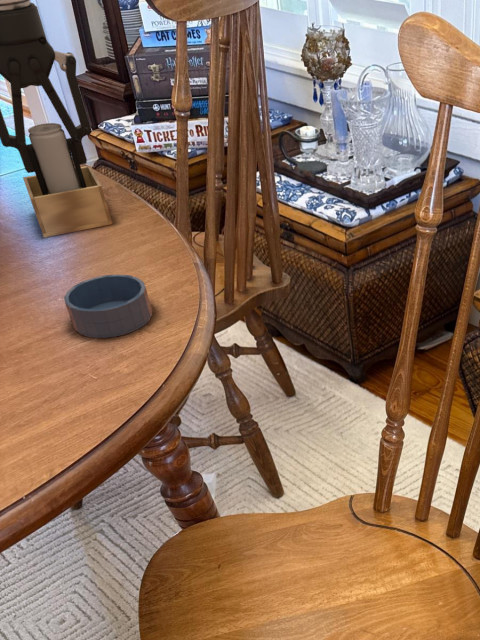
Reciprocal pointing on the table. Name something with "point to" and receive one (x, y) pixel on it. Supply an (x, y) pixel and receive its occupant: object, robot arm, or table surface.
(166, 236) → the table surface
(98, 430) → the table surface
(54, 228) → the box
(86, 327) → the dish
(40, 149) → the beverage can
